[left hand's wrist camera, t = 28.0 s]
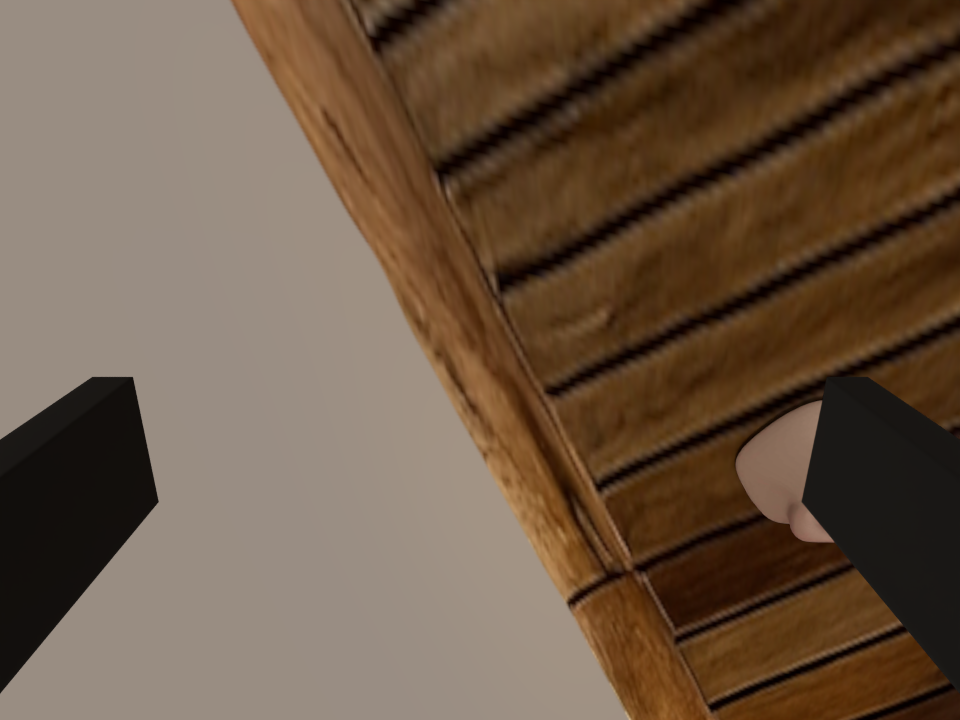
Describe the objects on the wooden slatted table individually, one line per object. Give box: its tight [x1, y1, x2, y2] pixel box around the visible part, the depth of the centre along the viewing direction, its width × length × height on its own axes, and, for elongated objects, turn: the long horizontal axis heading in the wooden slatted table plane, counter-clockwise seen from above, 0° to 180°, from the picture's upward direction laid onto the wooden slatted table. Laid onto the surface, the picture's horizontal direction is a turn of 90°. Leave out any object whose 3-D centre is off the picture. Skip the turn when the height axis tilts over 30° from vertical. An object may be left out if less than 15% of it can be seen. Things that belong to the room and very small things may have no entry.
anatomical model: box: [736, 400, 834, 542], centre depth 47 cm, size 13×4×12 cm
